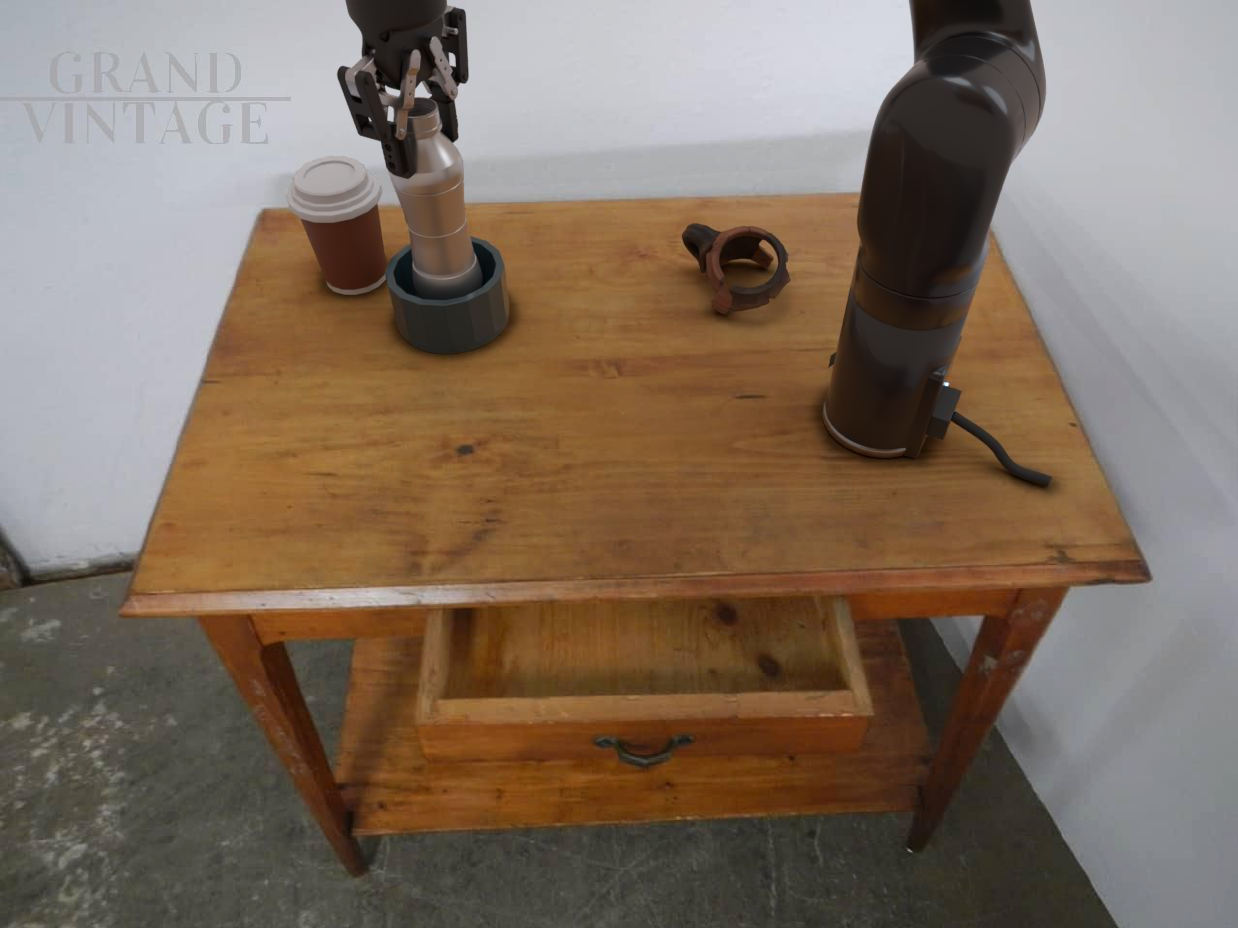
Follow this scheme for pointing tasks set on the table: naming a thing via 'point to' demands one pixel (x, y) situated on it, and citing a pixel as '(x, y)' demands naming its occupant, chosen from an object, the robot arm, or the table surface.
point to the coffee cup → (341, 221)
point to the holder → (450, 305)
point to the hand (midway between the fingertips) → (425, 156)
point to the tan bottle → (436, 210)
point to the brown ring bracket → (731, 246)
